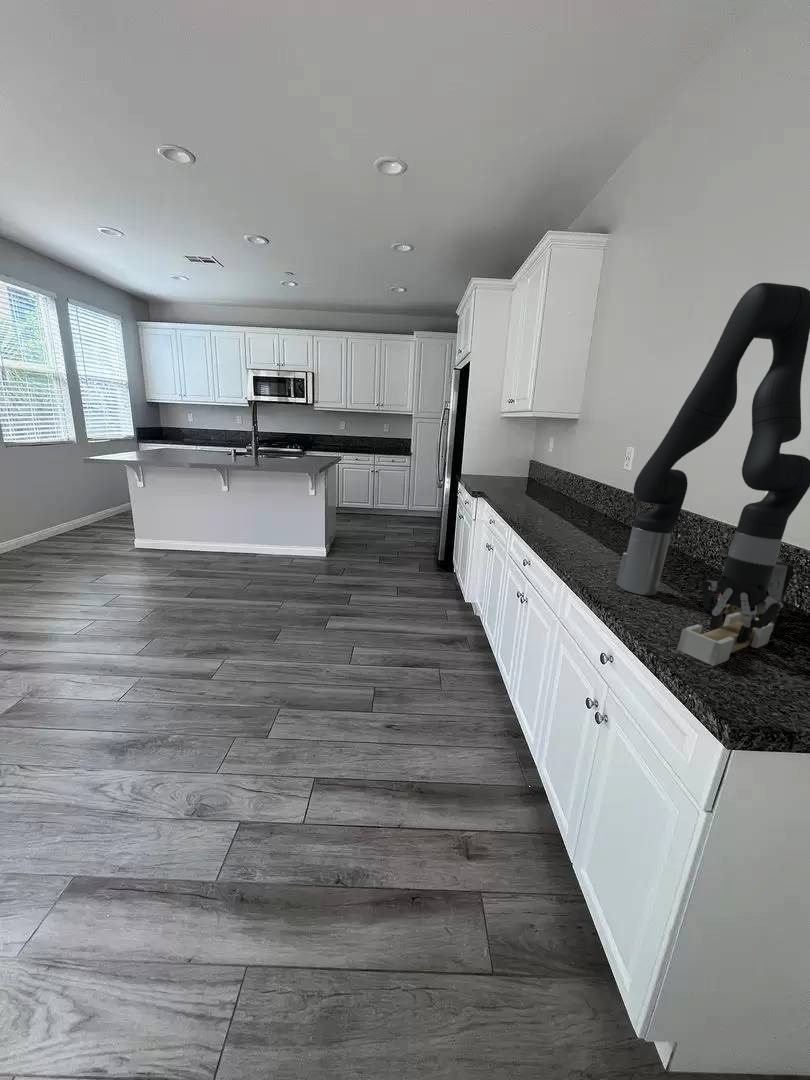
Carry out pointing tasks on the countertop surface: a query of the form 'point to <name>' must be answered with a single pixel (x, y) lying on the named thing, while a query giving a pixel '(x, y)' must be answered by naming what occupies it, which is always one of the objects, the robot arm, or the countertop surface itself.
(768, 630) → the end cap
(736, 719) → the countertop surface
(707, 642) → the end cap
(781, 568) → the coffee box
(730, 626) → the oak bar
